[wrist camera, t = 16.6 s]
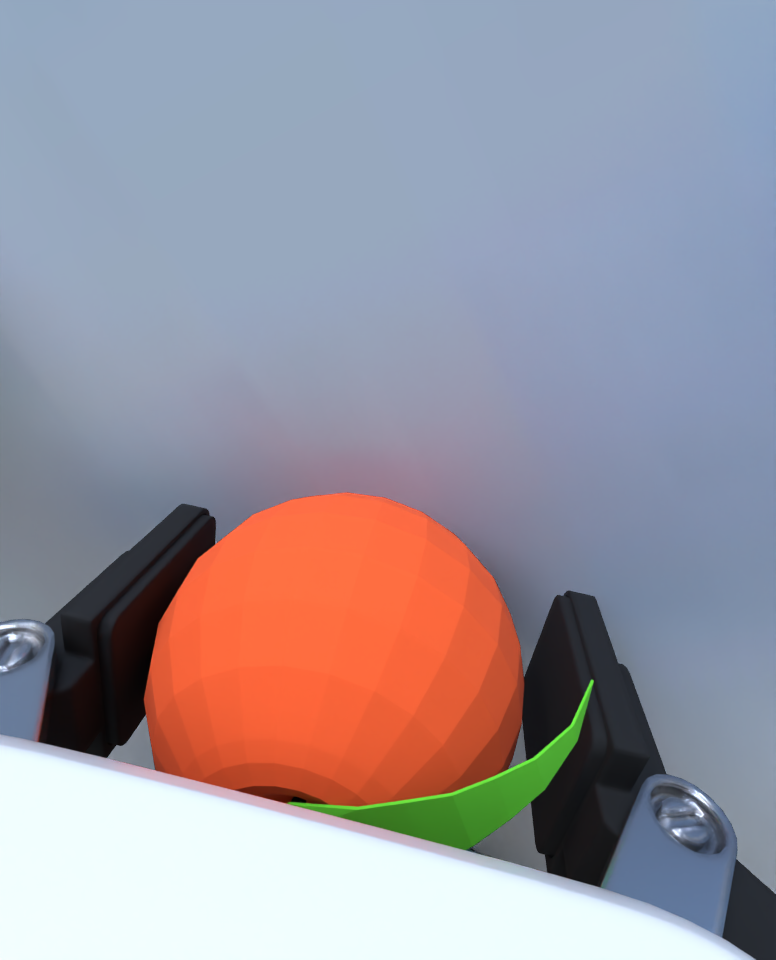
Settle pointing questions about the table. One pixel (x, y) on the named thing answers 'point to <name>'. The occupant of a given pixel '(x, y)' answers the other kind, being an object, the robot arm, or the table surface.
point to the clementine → (349, 673)
